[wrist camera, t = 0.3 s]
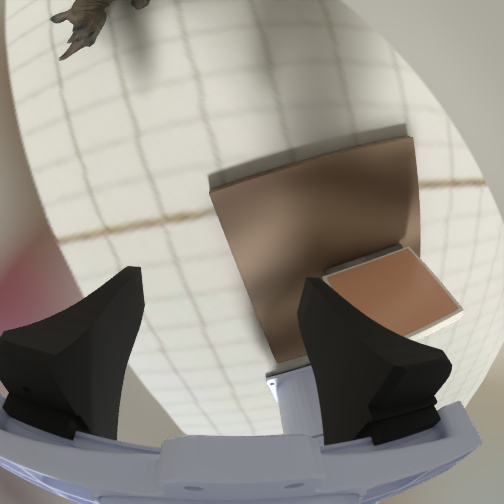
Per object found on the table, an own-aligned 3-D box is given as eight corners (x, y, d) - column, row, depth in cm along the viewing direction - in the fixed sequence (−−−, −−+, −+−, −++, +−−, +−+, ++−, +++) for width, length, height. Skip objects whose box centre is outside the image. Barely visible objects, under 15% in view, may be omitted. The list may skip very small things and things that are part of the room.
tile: (461, 317, 15) (464, 309, 15) (359, 364, 16) (359, 357, 15) (408, 253, 22) (408, 245, 21) (323, 284, 22) (322, 275, 22)
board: (412, 307, 28) (420, 318, 26) (275, 356, 29) (278, 370, 27) (406, 135, 19) (420, 139, 17) (209, 189, 20) (208, 197, 18)
